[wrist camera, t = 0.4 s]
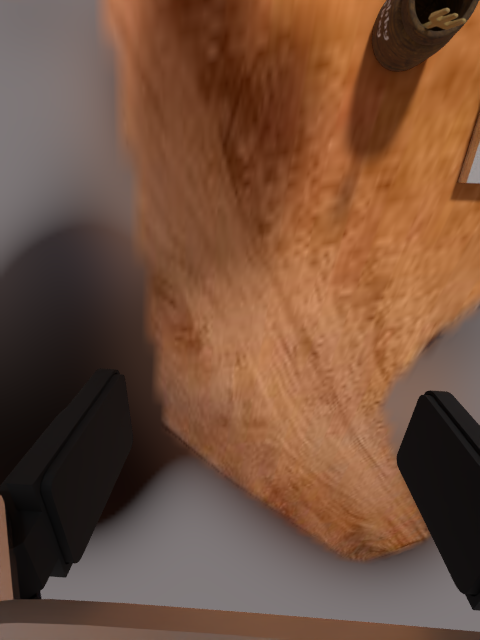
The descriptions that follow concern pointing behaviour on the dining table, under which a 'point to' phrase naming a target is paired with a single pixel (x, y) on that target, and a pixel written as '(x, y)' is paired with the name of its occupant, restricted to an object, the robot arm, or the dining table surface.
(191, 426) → the dining table surface
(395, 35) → the utensil holder
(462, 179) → the collar stand
